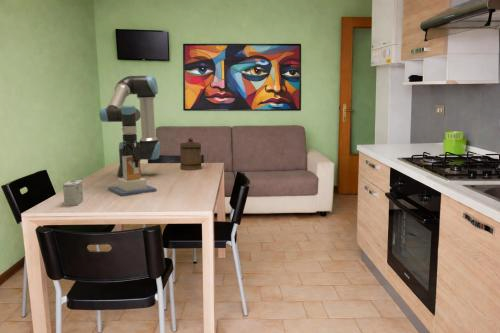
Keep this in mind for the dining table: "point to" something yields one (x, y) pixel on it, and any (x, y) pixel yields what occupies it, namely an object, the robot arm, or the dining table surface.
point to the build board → (124, 193)
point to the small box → (129, 169)
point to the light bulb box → (73, 192)
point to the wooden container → (190, 155)
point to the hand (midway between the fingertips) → (131, 171)
